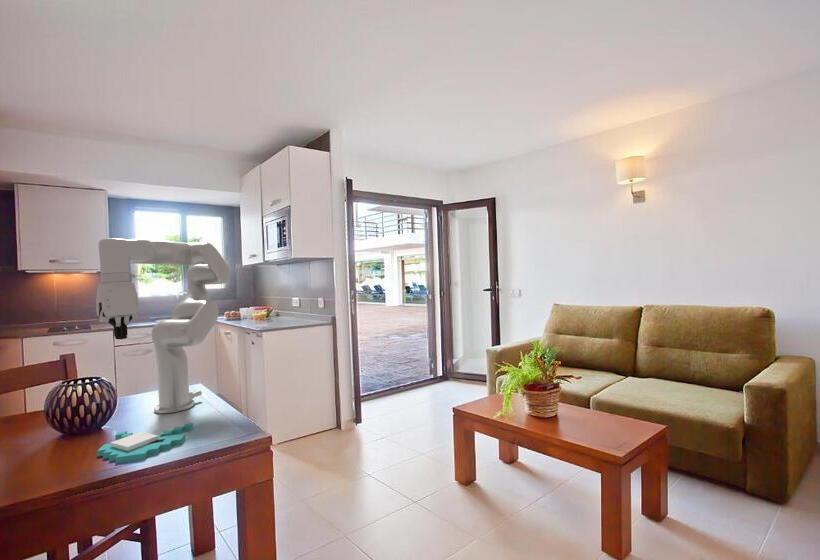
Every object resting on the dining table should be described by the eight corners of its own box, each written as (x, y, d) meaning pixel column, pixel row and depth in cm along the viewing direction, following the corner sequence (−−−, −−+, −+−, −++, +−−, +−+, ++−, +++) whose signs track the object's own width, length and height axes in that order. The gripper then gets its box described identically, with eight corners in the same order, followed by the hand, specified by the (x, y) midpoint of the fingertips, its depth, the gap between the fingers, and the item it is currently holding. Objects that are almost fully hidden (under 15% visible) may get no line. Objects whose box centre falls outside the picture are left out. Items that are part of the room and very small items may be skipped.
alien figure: (118, 439, 122) (85, 470, 103) (118, 432, 122) (84, 461, 103) (193, 429, 127) (174, 457, 108) (192, 422, 127) (173, 449, 108)
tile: (141, 431, 119) (110, 442, 111) (158, 435, 115) (127, 446, 108) (141, 435, 119) (110, 446, 111) (158, 439, 115) (128, 451, 108)
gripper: (134, 278, 134) (138, 334, 135) (81, 280, 121) (86, 343, 121) (148, 277, 131) (153, 334, 132) (96, 280, 117) (101, 344, 118)
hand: (121, 338), depth 127 cm, fingers closed
